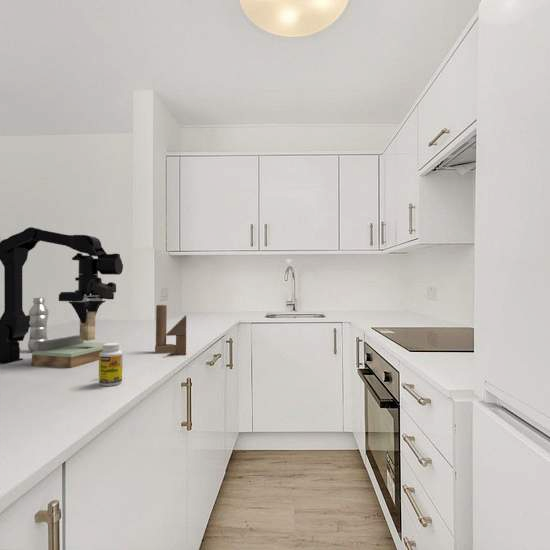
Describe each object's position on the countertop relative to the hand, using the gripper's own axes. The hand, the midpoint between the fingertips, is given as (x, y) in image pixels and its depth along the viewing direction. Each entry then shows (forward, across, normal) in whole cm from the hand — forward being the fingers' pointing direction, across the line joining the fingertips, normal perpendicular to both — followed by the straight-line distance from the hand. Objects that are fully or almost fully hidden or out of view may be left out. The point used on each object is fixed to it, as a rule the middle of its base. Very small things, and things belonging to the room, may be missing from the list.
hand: (87, 322), depth 125 cm
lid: (+9, -1, +3) cm, 9 cm away
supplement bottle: (+13, -20, -24) cm, 34 cm away
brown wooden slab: (+13, -1, +3) cm, 13 cm away
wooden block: (+13, +20, -19) cm, 30 cm away
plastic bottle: (+13, +12, +32) cm, 37 cm away
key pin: (+6, 0, 0) cm, 6 cm away
